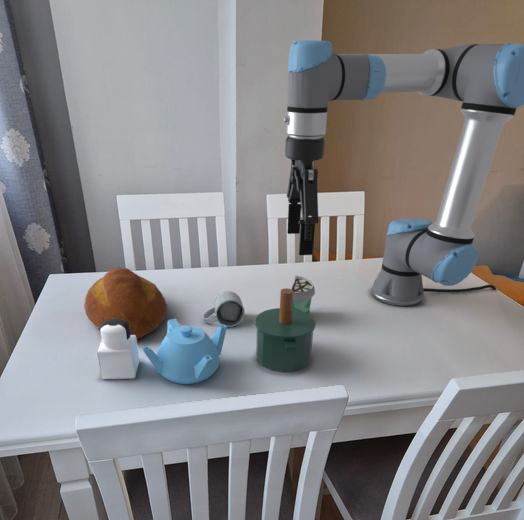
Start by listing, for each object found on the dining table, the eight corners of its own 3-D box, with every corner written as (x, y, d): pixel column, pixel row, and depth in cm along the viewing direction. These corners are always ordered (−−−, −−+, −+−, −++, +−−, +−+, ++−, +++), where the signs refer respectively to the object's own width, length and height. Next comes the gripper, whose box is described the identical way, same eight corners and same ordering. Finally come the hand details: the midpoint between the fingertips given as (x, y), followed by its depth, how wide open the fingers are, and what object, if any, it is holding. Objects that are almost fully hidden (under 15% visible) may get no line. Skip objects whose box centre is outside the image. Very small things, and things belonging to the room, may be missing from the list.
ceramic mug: (241, 312, 132) (240, 286, 128) (245, 326, 125) (244, 299, 121) (202, 314, 130) (201, 289, 126) (204, 329, 124) (203, 302, 120)
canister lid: (308, 311, 114) (311, 277, 109) (320, 340, 102) (324, 303, 98) (252, 313, 112) (252, 279, 108) (258, 342, 101) (259, 305, 96)
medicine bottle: (108, 361, 109) (100, 315, 103) (139, 361, 110) (133, 315, 103) (101, 379, 103) (92, 331, 97) (135, 379, 103) (128, 331, 97)
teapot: (231, 356, 112) (230, 316, 107) (212, 393, 100) (210, 350, 94) (170, 348, 115) (166, 308, 109) (144, 383, 102) (138, 340, 97)
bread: (89, 351, 113) (79, 304, 106) (84, 295, 139) (77, 254, 132) (177, 338, 119) (173, 293, 112) (157, 287, 145) (153, 247, 139)
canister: (302, 339, 120) (305, 305, 115) (317, 379, 105) (321, 343, 100) (252, 340, 119) (253, 306, 114) (261, 382, 104) (262, 345, 99)
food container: (309, 330, 124) (312, 295, 119) (286, 327, 125) (288, 293, 120) (314, 310, 135) (317, 277, 129) (293, 307, 136) (295, 274, 130)
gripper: (276, 127, 101) (273, 226, 112) (298, 147, 80) (292, 265, 91) (310, 127, 102) (304, 225, 113) (341, 146, 81) (330, 264, 92)
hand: (299, 243), depth 102 cm, fingers open, 13 cm apart
